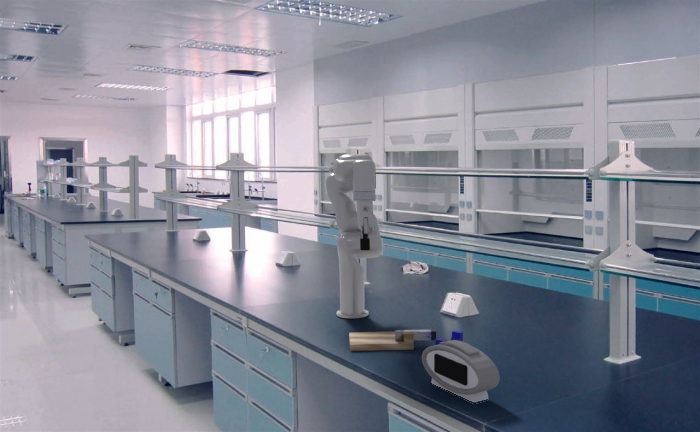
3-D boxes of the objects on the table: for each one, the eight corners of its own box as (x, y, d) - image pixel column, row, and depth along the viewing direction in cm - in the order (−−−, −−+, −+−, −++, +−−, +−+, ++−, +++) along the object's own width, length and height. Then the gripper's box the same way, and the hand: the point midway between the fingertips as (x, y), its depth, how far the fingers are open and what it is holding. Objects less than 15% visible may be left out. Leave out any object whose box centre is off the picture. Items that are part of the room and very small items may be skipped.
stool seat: (349, 338, 208) (349, 323, 207) (408, 337, 208) (408, 322, 208) (350, 350, 194) (350, 335, 193) (413, 349, 194) (413, 333, 194)
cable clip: (449, 361, 182) (449, 341, 182) (435, 359, 185) (435, 339, 184) (467, 351, 192) (467, 332, 191) (454, 349, 195) (454, 330, 194)
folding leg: (395, 341, 195) (395, 332, 195) (394, 338, 199) (394, 329, 198) (436, 340, 195) (436, 331, 195) (435, 337, 198) (434, 328, 198)
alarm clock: (421, 380, 166) (421, 334, 165) (439, 376, 169) (439, 331, 168) (480, 409, 146) (480, 356, 145) (499, 404, 150) (500, 352, 149)
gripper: (377, 197, 203) (378, 252, 204) (373, 195, 218) (373, 246, 219) (354, 198, 202) (355, 253, 204) (351, 195, 217) (352, 247, 219)
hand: (365, 249), depth 211 cm, fingers closed
